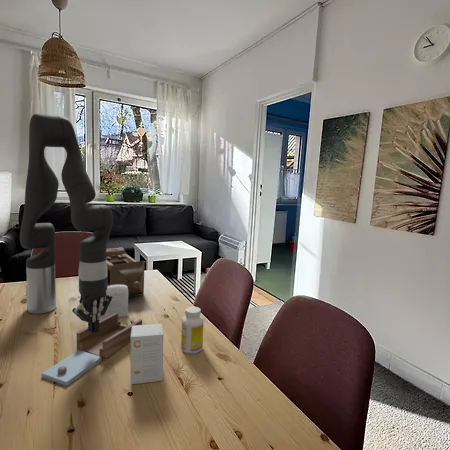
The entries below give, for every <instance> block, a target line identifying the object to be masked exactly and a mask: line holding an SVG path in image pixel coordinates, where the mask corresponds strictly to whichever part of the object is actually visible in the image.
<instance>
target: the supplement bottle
mask: <svg viewBox="0 0 450 450" xmlns="http://www.w3.org/2000/svg"><path fill="white" fill-rule="evenodd" d="M201 312H202V311H201V308H200V307H198V306H189V307H186V308H185V312H184V313H185V315H184V316H183V317H182V319H181V337H180V338H181V340H180V346H181V350H182V351H183V352H184V353H186V354H192V355H193V354H198V353H200V352H201V351H202V350H203V347H204V346H203V345H204V318H203V316H202V315H201V314H202V313H201Z"/></svg>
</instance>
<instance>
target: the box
mask: <svg viewBox="0 0 450 450" xmlns="http://www.w3.org/2000/svg"><path fill="white" fill-rule="evenodd" d="M134 325H143V320H142V319H138V320H136V321H134V322H133V323H131V324H130V325H128V324H125V323H122V321H121V320H119V318H118V313H114V314H112V315H110V316H108V317H106V318H104V319H103V320H99V329H98V332H96V333H94V334H93V333H90V332H89V331H88V326H87V327H85V328H83V329H82V330H79V331H78V332H76V351H78V350H81V351H84V352H87V353H90V354H94V355H97V356H100V357H102V360H103V361H107V360H108V359H110V358H112V357H113V356H114V355H115V354H117V353H119V352H120V351H122V350H123V349H124V348H126V347H128V346H129V345H131V338H130V337H131V330H132V326H134Z"/></svg>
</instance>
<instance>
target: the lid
mask: <svg viewBox="0 0 450 450" xmlns="http://www.w3.org/2000/svg"><path fill="white" fill-rule="evenodd" d="M102 360H103V359H102V357H100V356H97V355H94V354H90V353H87V352H84V351H81V350H76V351H74V352H73V353H72V354H70V355H69V356H67V357H65V358H63V359H62V360H60V361H59V362H57V363H56V364H54V365H53V366H51V367H49V368H48V369H46V370H45V371H42V372H41V378H43V379H46V380H49V381H52V382H54V383H58V384H61V385H62V386H66V387H68V386H69V385H70V384H71V383H73V382H74V381H76V380H78V378H80V377H81V376H82V375H84V374H85V373H86V372H88V371H89V370H91V369H92V368H94V367H95V366H96V365H97V364H99V363H100V362H102Z"/></svg>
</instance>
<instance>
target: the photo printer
mask: <svg viewBox="0 0 450 450" xmlns="http://www.w3.org/2000/svg"><path fill="white" fill-rule="evenodd" d="M106 294H107V295H109V296H112V300H111V302H110V304H109V306H108V308H107V310H106V312H105V314H104V315H102V316H101V317H100V319H99V321H101V320H103V319H104V318H106V317H108V316H110V315H112V314H114V313H118V319H121V318H125V317H128V315H129V297H128V287H127V286H126V285H110V286H107V290H106ZM103 308H104V307H102V310H103Z"/></svg>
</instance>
